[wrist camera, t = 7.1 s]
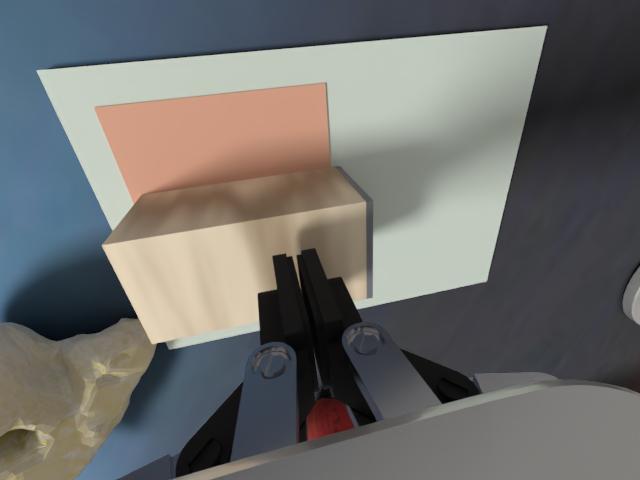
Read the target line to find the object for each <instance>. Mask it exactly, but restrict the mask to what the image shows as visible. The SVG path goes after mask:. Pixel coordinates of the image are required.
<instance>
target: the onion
mask: <svg viewBox="0 0 640 480" xmlns="http://www.w3.org/2000/svg"><path fill="white" fill-rule="evenodd" d="M315 403H316V404H315V405H314V407H313V409H312V410H311V412H310V413H309V415H308V416H307V421H308V441H309V440H312V439H316V438H320V437H323V436H327V435H331V434H334V433H338V432H342V431H345V430H349V429H353V428H355V426H354V424H353V422H352V420H351V418H350V416H349V414H348V411H347V408H346V404H344V403H342V402H340V401H338V400H337V399H329V398H319V399H317V400H316V401H315Z"/></svg>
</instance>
